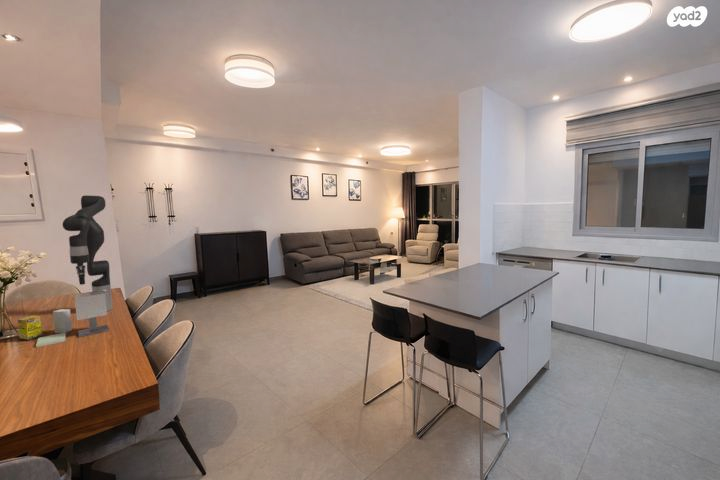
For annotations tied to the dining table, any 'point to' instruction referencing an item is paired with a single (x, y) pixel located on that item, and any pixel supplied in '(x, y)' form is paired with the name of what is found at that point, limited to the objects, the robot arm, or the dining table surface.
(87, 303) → the block
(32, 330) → the supplement box
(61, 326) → the skincare box
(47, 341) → the mat
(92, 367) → the dining table surface
